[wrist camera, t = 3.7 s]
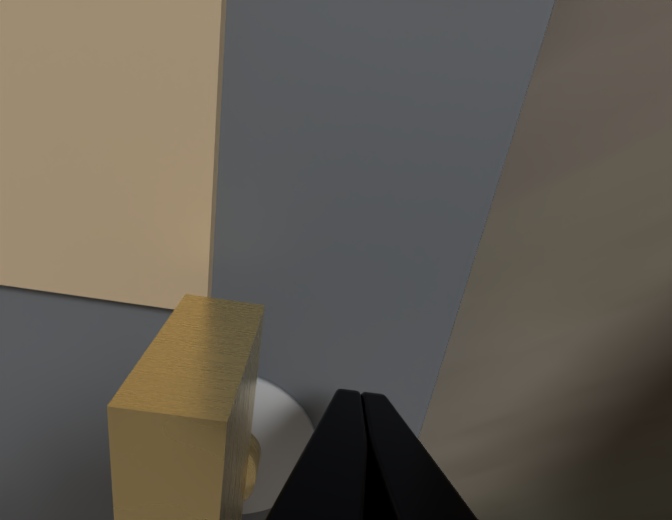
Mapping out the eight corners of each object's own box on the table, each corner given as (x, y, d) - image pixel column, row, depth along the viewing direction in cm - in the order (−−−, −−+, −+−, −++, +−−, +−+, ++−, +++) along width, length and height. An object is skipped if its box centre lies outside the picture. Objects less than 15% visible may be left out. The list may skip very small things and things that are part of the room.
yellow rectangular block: (283, 281, 9) (244, 423, 5) (247, 566, 12) (210, 764, 9) (192, 268, 9) (89, 404, 5) (183, 559, 12) (118, 757, 9)
